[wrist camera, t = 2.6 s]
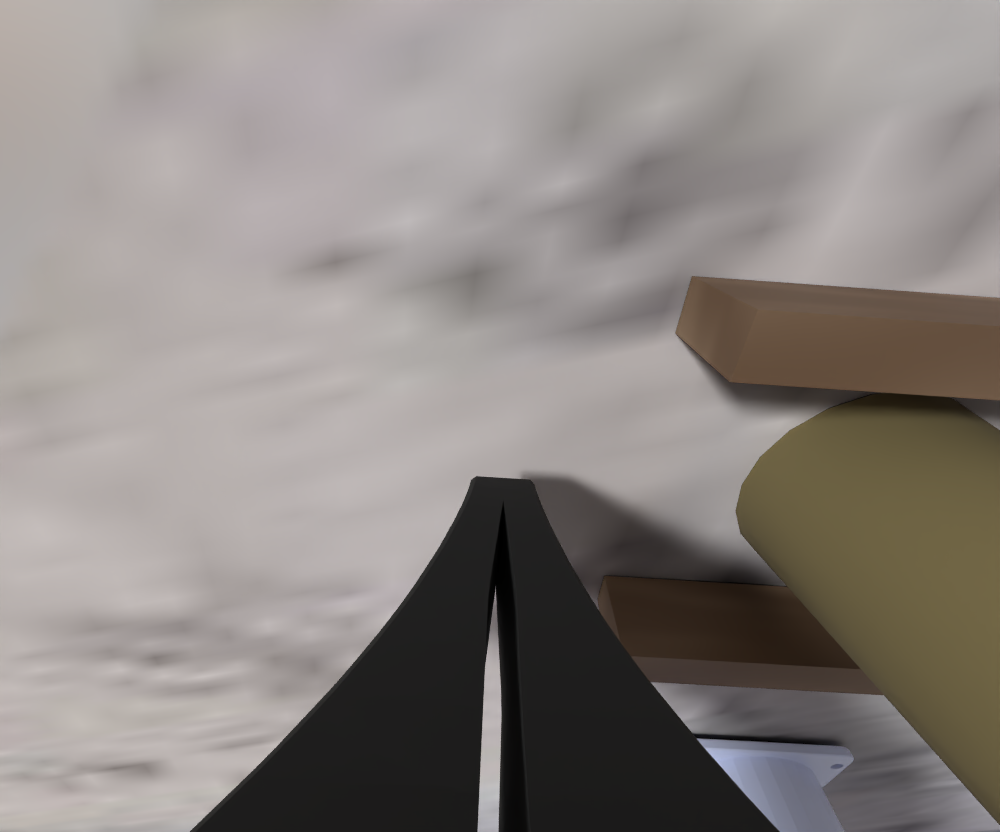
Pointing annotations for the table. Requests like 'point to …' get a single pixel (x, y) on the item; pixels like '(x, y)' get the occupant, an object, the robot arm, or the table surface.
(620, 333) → the table surface
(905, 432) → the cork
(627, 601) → the guide channel
